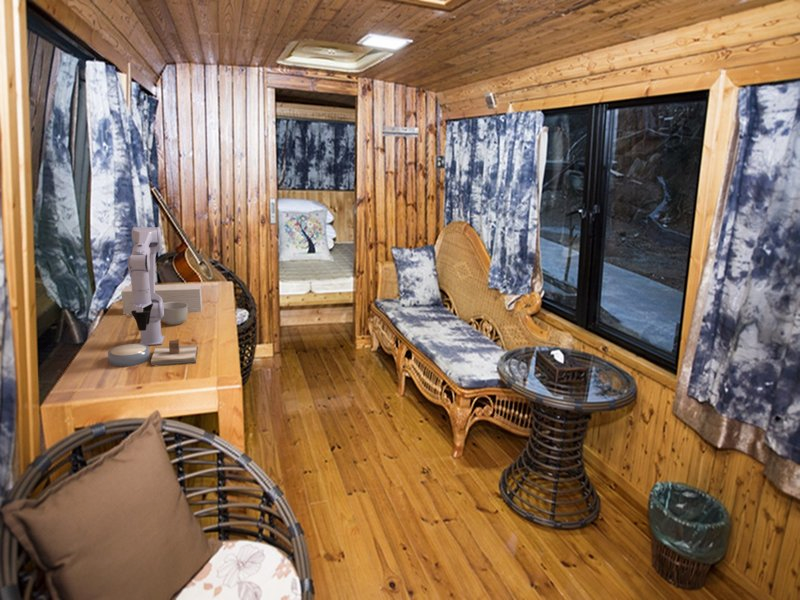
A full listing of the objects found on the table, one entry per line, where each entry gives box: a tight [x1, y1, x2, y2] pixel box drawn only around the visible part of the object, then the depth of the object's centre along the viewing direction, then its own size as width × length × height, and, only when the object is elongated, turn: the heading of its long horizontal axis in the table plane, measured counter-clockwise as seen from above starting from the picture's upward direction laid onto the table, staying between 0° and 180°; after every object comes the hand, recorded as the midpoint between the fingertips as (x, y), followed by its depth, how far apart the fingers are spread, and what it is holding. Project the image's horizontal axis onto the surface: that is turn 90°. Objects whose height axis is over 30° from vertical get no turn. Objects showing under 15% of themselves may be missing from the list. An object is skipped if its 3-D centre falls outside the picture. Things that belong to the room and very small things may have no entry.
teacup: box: [160, 302, 189, 326], centre depth 237 cm, size 14×11×8 cm
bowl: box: [107, 343, 151, 368], centre depth 197 cm, size 13×13×4 cm
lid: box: [150, 339, 198, 365], centre depth 201 cm, size 14×14×5 cm
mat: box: [151, 345, 199, 367], centre depth 201 cm, size 16×14×1 cm
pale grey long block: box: [121, 283, 203, 314], centre depth 256 cm, size 32×11×11 cm, turn 106°
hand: (144, 327), depth 199 cm, fingers open, 7 cm apart
